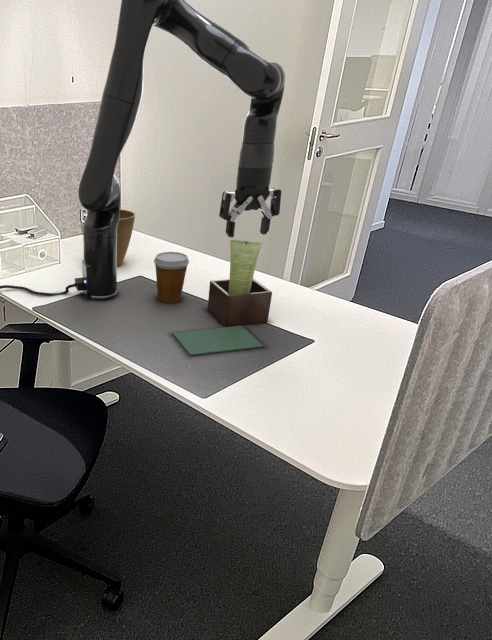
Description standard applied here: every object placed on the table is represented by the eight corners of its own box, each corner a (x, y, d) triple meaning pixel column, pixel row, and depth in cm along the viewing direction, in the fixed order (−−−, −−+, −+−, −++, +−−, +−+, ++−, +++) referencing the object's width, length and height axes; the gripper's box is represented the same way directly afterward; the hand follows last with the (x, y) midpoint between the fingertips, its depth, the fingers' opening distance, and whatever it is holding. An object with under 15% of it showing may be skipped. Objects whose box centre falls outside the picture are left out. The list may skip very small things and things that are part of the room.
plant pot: (135, 270, 182) (136, 219, 173) (88, 270, 182) (87, 219, 174) (132, 256, 194) (133, 207, 186) (89, 256, 195) (88, 208, 186)
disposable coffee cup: (185, 305, 155) (188, 262, 149) (150, 303, 157) (152, 261, 151) (187, 293, 163) (190, 252, 157) (153, 291, 165) (155, 250, 159)
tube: (240, 310, 152) (250, 236, 142) (251, 317, 148) (262, 242, 138) (222, 313, 150) (230, 239, 140) (232, 320, 146) (242, 244, 136)
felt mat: (190, 356, 130) (190, 354, 129) (172, 334, 140) (172, 333, 139) (263, 347, 133) (263, 345, 132) (241, 326, 143) (241, 325, 142)
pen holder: (225, 326, 143) (228, 296, 139) (207, 309, 153) (210, 280, 149) (267, 321, 145) (272, 292, 141) (247, 305, 155) (251, 276, 150)
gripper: (276, 159, 134) (266, 229, 142) (219, 163, 132) (213, 233, 140) (292, 164, 128) (281, 237, 136) (233, 168, 125) (225, 241, 134)
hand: (246, 235), depth 138 cm, fingers open, 8 cm apart
